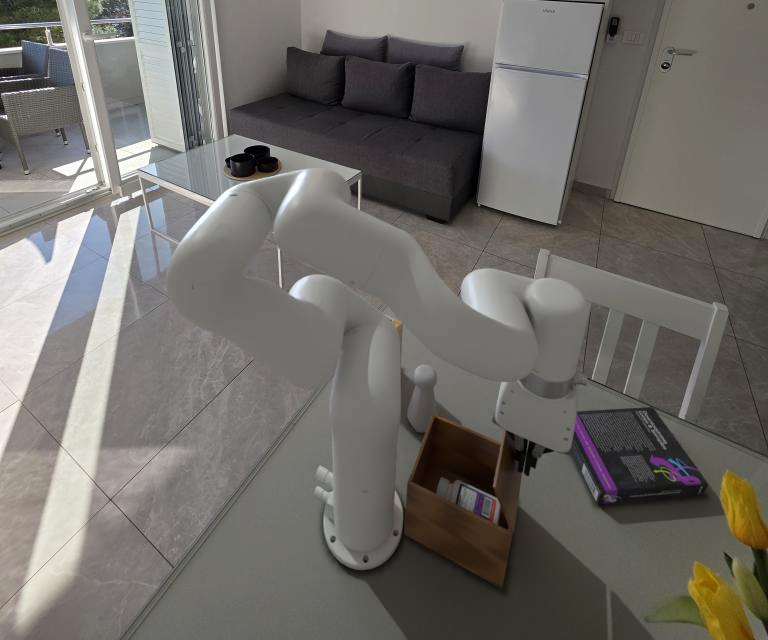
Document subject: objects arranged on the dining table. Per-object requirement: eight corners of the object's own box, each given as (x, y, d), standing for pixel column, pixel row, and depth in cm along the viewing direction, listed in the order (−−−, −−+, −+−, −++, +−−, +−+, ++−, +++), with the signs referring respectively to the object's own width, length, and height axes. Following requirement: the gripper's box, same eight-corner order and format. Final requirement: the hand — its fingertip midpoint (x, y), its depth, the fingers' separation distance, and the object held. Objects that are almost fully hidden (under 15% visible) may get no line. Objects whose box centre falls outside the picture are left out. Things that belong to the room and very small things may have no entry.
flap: (522, 449, 67) (525, 449, 67) (511, 532, 57) (514, 533, 56) (507, 409, 66) (509, 409, 66) (492, 486, 56) (495, 487, 56)
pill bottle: (496, 535, 67) (437, 505, 71) (503, 495, 68) (444, 467, 72) (493, 551, 62) (430, 517, 66) (500, 507, 64) (438, 477, 68)
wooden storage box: (514, 501, 71) (523, 452, 67) (502, 589, 60) (512, 536, 57) (428, 460, 77) (432, 413, 73) (403, 534, 66) (407, 483, 63)
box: (595, 507, 71) (706, 497, 72) (599, 493, 70) (711, 483, 71) (557, 424, 84) (651, 417, 85) (559, 411, 83) (655, 404, 84)
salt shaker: (403, 431, 81) (406, 379, 77) (411, 405, 87) (414, 355, 82) (433, 442, 80) (437, 389, 76) (439, 414, 85) (444, 363, 81)
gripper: (604, 368, 57) (580, 464, 63) (492, 329, 63) (479, 420, 69) (606, 416, 51) (578, 518, 56) (481, 368, 57) (467, 465, 62)
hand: (524, 464), depth 63 cm, fingers closed
